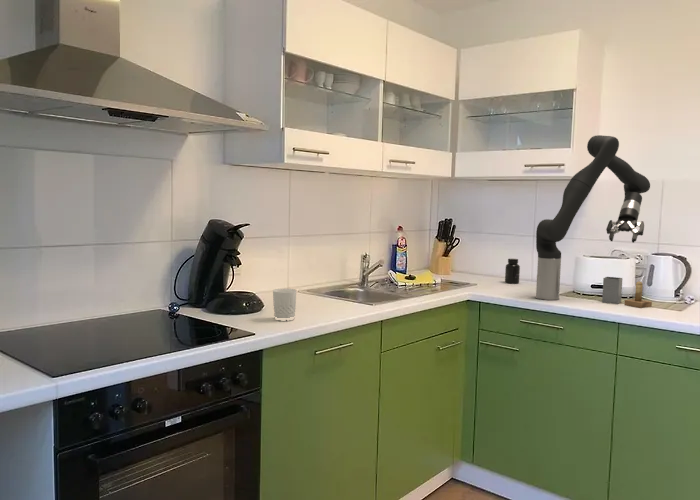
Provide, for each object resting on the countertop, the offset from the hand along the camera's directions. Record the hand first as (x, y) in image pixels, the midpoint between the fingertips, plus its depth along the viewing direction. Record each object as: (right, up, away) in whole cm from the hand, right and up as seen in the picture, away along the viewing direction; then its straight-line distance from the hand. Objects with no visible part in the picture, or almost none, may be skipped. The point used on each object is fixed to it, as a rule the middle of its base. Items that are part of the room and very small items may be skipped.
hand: (621, 240), depth 248 cm
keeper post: (0, -26, -14) cm, 30 cm away
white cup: (-137, -28, -48) cm, 148 cm away
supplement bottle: (-35, -20, +43) cm, 59 cm away
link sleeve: (-7, -25, -7) cm, 27 cm away
